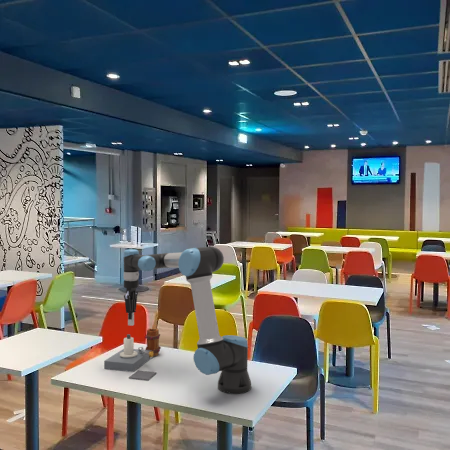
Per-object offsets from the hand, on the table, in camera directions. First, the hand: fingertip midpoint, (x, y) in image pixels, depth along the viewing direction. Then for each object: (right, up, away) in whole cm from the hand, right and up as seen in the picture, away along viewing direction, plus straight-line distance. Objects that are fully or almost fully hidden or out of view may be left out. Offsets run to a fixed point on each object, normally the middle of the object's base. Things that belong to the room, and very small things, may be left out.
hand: (131, 325), depth 245 cm
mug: (+9, -20, +18) cm, 28 cm away
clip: (+8, -15, 0) cm, 17 cm away
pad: (+9, -21, -16) cm, 28 cm away
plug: (-2, -20, +2) cm, 21 cm away
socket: (-2, -20, +2) cm, 20 cm away
